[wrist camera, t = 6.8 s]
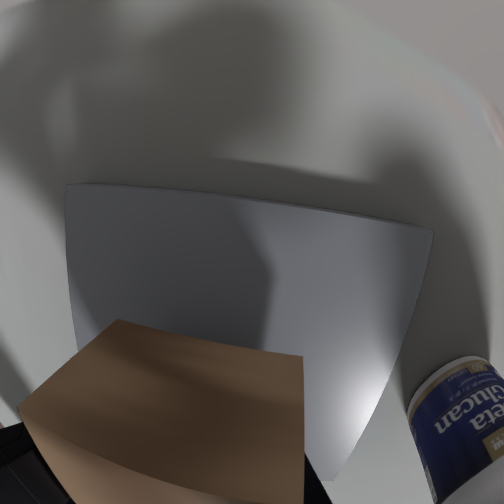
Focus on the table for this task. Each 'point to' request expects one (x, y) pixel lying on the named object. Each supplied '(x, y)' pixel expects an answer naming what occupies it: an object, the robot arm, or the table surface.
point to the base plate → (254, 288)
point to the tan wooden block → (172, 421)
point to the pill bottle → (461, 432)
